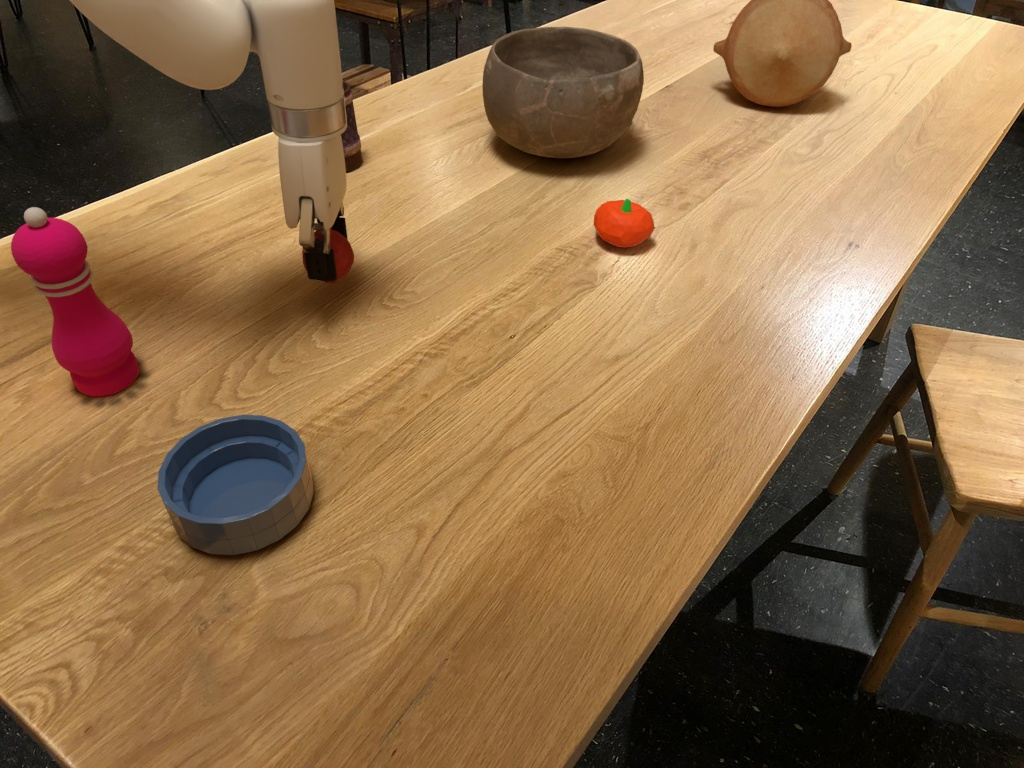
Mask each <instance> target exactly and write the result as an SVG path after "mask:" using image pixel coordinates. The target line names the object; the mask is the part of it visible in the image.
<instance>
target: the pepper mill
mask: <svg viewBox="0 0 1024 768" xmlns="http://www.w3.org/2000/svg"><path fill="white" fill-rule="evenodd" d="M23 219H24V222H25V223H24V224H22V225H21V226H20V227H19V228H18V229H17V230H16V231H15V232H14V234H13V236H12V239H11V243H10V249H11V250H10V251H11V256H12V258H13V261H14V263H15V264H16V266H17V267H18V268H19V269H20V270H22V271H23V273H25V274H27V275H29V276H30V281H31V283H32V284H33V286H34V289H35V291H36V292H37V293H38V294H39V295H41V296H44V297H45V298H46V300H47V302H48V304H49V306H50V308H51V309H50V310H51V311H52V318H53V320H52V321H53V323H52V330H51V348H52V352H53V356H54V358H55V360H56V362H57V363H58V365H59V366H60V367H61V368H63V369H64V370H66V371H67V372H69V376H70V379H71V380H72V382H73V384H74V386H75V388H76V389H77V390H78V391H79V392H80V393H81V394H83V395H86V396H89V397H90V396H91V397H106V396H111V395H114V394H116V393H119V392H122V391H123V390H125V389H127V388H129V386H131V385H132V384H133V383H134V382H135V381H136V380H137V378H138V376H139V374H140V365H139V363H138V361H137V358H136V356H135V354H134V352H133V351H132V349H133V345H134V340H133V335H132V333H131V331H130V329H129V327H128V326H127V324H126V323H125V321H124V320H123V319H121V317H120V316H119V315H118V314H116V313H115V312H114V311H113V310H111V309H110V308H109V307H108V306H107V305H106V304H104V302H103V301H102V300H101V299H100V298H99V296H97V294H96V292H95V290H94V288H93V285H92V281H93V279H94V271H92V269H91V265H90V263H89V262H88V261H87V260H86V259H87V256H88V243H87V241H86V239H85V236H84V235H83V233H82V232H81V231H80V230H79V229H78V227H76V226H75V225H74V224H73V223H71V222H69V221H66V220H65V219H61V218H58V217H48V214H47V213H46V211H45V210H43V209H42V208H40V207H37V206H31V207H29V208H26V210H25V211H24V213H23Z"/></svg>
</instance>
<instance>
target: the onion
mask: <svg viewBox="0 0 1024 768" xmlns="http://www.w3.org/2000/svg"><path fill="white" fill-rule="evenodd" d="M329 230H330V249H333V250H334V257H335V265H336V272H337V278H336V280H335V281H322V280H318V281H319V282H322V283H326V284H330V285H331V284H334V285H335V284H336V283H338V281H340V280H343V278H345V277H346V276H347V275H348V274H349V273H350V272H351V269H352V267H353V265H354V262H355V254H354V253H355V252H354V250H353V247H352V245H351V243H350V241H349V239H348V240H347V239H346V238H345V237H344V236H343V235H342V234H340V233H339V232H337V231H335V230H332V229H331V228H330V229H329ZM314 236H315V237H316V238H319V239H320V240H321V241H323V240H322V231H315V230H314ZM301 257H302V264H303V267H304V270H305V271H306V272H307V269H306V263H305V257H304V252H303V249H302V251H301Z"/></svg>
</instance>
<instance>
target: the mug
mask: <svg viewBox="0 0 1024 768" xmlns="http://www.w3.org/2000/svg"><path fill="white" fill-rule="evenodd" d="M343 89H344V98H345V108H346V117H347V128H346V130H345V131H344V132H343V133H342V134H341V138H342V145H343V151H344V159H345V167H346V173H347V172H350V171H354V170H355V169H357V168H358V167H359V166H360V165H361V164H362V162H363V154H362V141H361V136H360V134H359V131H358V124H357V118H356V111H355V105H354V96H353V91H352V90H351V86H350V83H348V82H347V81H345V80H343Z"/></svg>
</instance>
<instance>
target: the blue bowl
mask: <svg viewBox="0 0 1024 768" xmlns="http://www.w3.org/2000/svg"><path fill="white" fill-rule="evenodd" d="M306 448H307V447H306V445H305V442H304V441H303V439H302V437H301V436H300V435H299V433H298V432H297V431H296V429H294V428H293V427H291V426H290V425H288V424H287V423H285V422H284V421H282V420H279V419H277V418H274V417H271V416H266V415H259V414H238V415H232V416H226V417H222V418H218V419H215V420H213V421H211V422H208V423H205V424H203V425H200V426H197V428H195V429H194V430H192V431H191V432H189V433H187V434H186V435H185V436H183V437H181V439H179V440H178V441H177V442H176V444H175V445H174V446H173V447H172V448H171V449H170V450H169V451H168V452H167V453H166V455H165V457H164V459H163V460H162V463H161V465H160V466H159V467H160V468H159V469H158V474H157V491H158V493H159V497H160V498H161V501H162V503H163V505H164V507H165V509H166V511H167V514H168V516H169V519H170V520H171V522H172V524H173V527H174V529H175V531H176V534H177V535H178V536H179V538H181V539H182V540H183V541H184V542H185V543H187V544H188V545H189V546H190V547H192V548H194V549H196V550H199V551H201V552H203V553H204V552H205V553H208V554H210V555H222V556H237V555H241V554H246V553H251V552H256V551H259V550H262V549H264V548H266V547H268V546H270V545H272V544H274V543H276V542H278V541H281V540H282V539H283V538H284V537H285V536H287V535H288V534H289V533H290V532H292V531H293V530H294V529H295V528H296V527H297V526H298V525H300V523H301V521H302V520H303V518H304V517H305V516H306V514H307V513H308V511H309V509H310V507H311V503H312V501H313V500H312V499H313V496H314V492H315V489H314V481H313V474H312V469H311V465H310V461H309V458H308V453H307V449H306Z"/></svg>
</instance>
